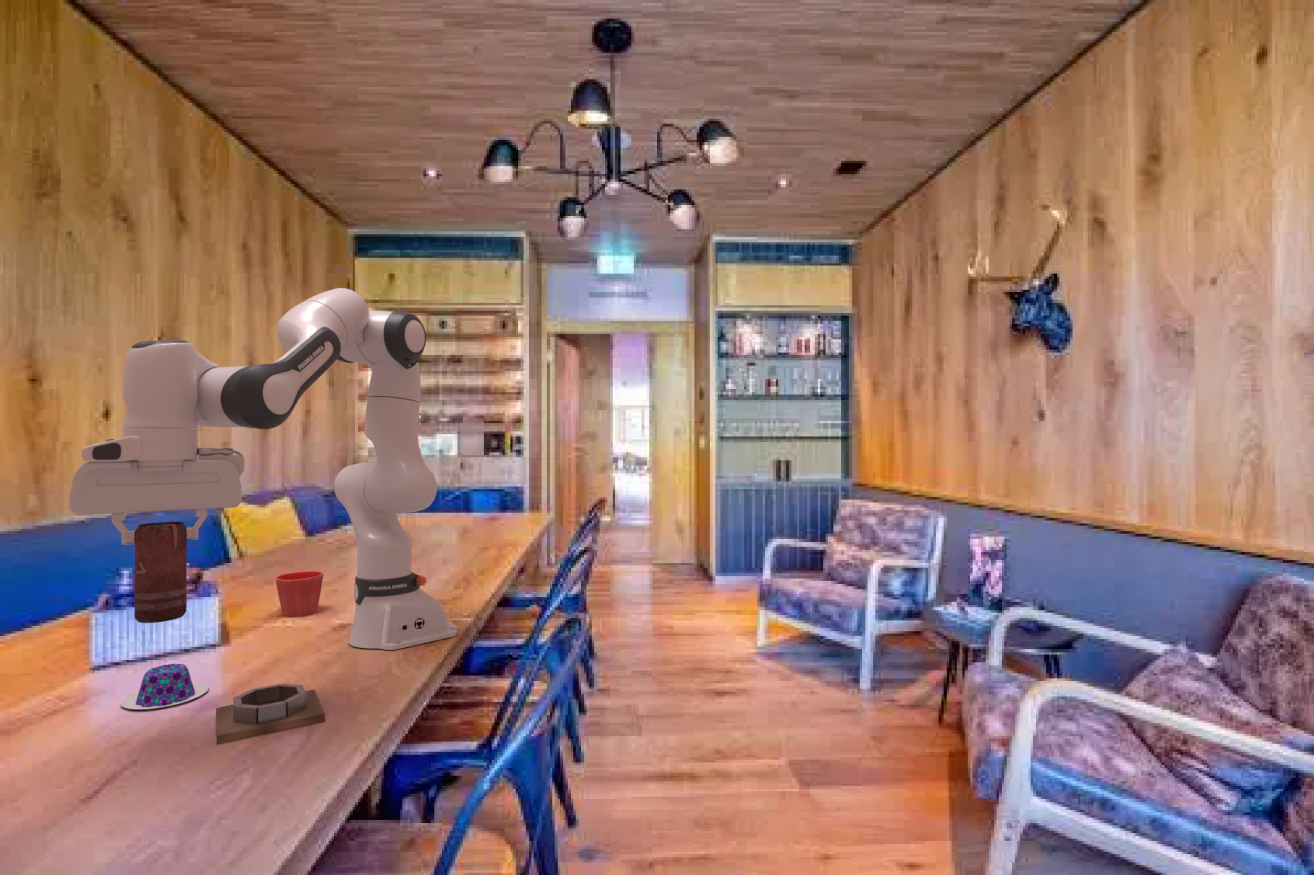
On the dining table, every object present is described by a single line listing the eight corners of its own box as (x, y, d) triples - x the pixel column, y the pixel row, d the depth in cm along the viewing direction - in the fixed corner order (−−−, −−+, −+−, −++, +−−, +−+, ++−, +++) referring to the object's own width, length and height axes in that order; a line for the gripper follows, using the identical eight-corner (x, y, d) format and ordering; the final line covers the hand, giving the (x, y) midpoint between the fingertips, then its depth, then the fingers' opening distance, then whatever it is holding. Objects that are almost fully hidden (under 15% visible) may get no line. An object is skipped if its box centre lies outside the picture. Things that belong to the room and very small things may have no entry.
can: (160, 624, 93) (160, 526, 93) (123, 622, 94) (124, 525, 94) (198, 613, 99) (198, 521, 99) (163, 611, 100) (163, 520, 100)
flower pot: (264, 618, 161) (264, 578, 161) (296, 607, 172) (296, 570, 172) (303, 620, 160) (303, 580, 160) (332, 608, 170) (332, 571, 170)
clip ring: (300, 694, 110) (300, 680, 110) (307, 714, 102) (307, 698, 102) (232, 707, 104) (232, 692, 104) (234, 729, 96) (234, 712, 96)
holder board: (314, 696, 112) (314, 689, 112) (324, 721, 102) (324, 713, 102) (215, 715, 104) (215, 707, 104) (216, 744, 94) (216, 736, 94)
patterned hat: (115, 720, 103) (116, 686, 103) (125, 695, 113) (125, 664, 113) (208, 703, 110) (208, 672, 110) (209, 681, 120) (209, 652, 120)
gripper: (243, 447, 105) (243, 533, 105) (74, 448, 94) (74, 545, 94) (245, 448, 100) (245, 538, 100) (66, 449, 88) (66, 551, 88)
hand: (161, 541), depth 97 cm, fingers closed on can, 6 cm apart
